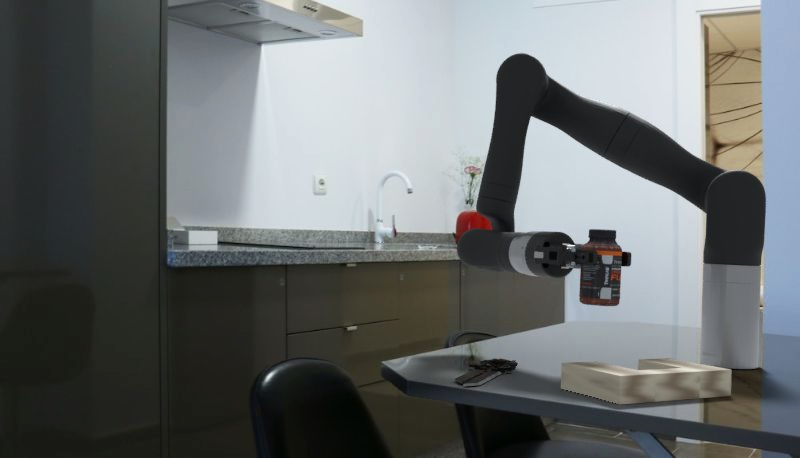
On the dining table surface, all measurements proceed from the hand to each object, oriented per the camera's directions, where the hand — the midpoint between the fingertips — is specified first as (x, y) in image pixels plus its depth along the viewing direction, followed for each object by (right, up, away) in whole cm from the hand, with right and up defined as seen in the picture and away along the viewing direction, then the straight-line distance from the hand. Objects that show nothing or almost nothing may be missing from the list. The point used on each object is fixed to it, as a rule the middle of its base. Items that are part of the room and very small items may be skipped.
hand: (612, 258), depth 123 cm
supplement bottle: (-1, -7, +2) cm, 8 cm away
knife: (-19, -18, -1) cm, 26 cm away
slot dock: (+2, -18, -11) cm, 21 cm away
